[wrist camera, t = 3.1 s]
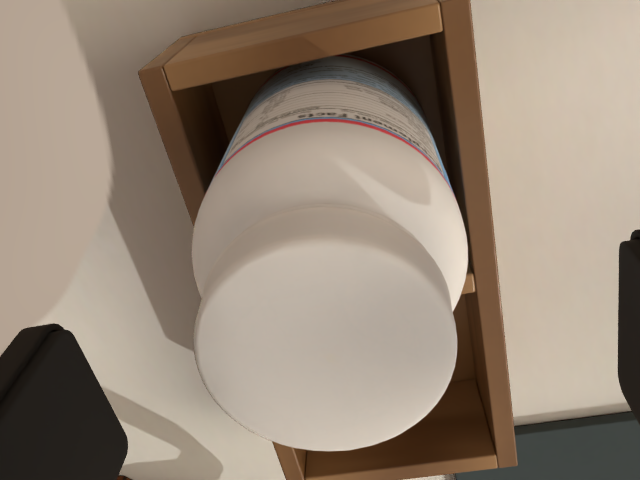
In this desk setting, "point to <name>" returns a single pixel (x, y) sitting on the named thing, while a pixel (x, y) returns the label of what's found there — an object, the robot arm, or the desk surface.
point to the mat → (573, 451)
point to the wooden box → (457, 158)
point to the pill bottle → (329, 261)
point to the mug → (122, 478)
